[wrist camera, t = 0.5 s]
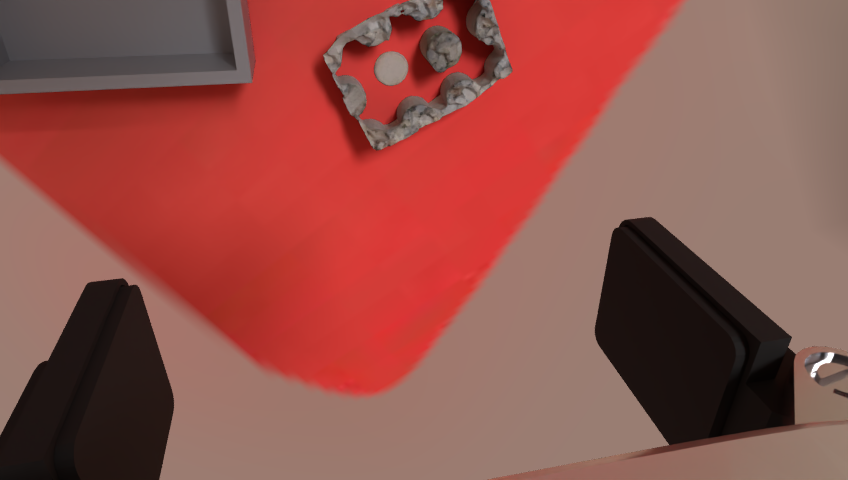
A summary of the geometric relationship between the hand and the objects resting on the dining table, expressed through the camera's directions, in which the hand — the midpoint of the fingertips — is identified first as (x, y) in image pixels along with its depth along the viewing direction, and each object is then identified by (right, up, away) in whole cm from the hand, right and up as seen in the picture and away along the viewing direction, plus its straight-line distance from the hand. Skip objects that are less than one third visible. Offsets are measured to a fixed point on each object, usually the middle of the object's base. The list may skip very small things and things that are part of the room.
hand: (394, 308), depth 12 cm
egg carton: (0, +14, +27) cm, 30 cm away
